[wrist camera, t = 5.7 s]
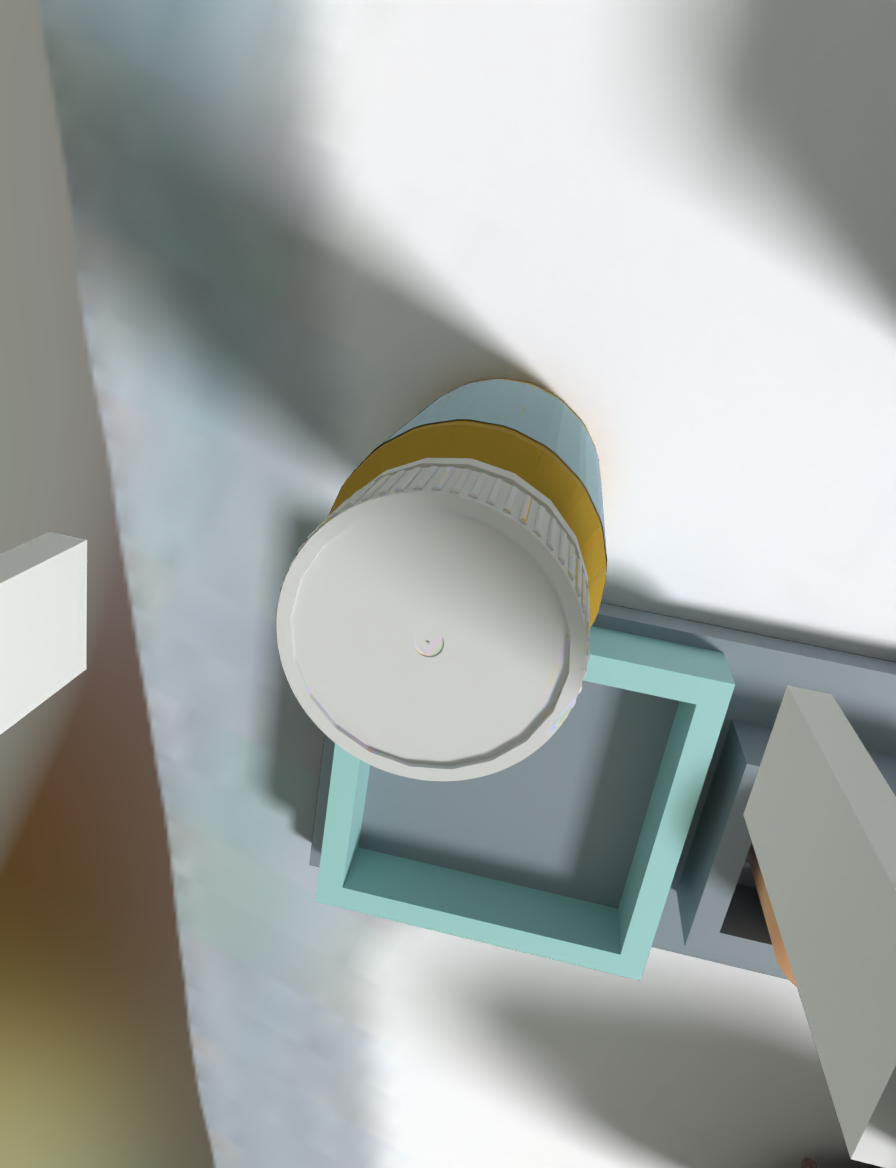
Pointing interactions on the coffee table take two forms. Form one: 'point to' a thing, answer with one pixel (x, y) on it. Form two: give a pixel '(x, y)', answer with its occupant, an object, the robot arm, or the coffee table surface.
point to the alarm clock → (808, 1163)
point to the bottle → (452, 587)
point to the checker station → (601, 806)
